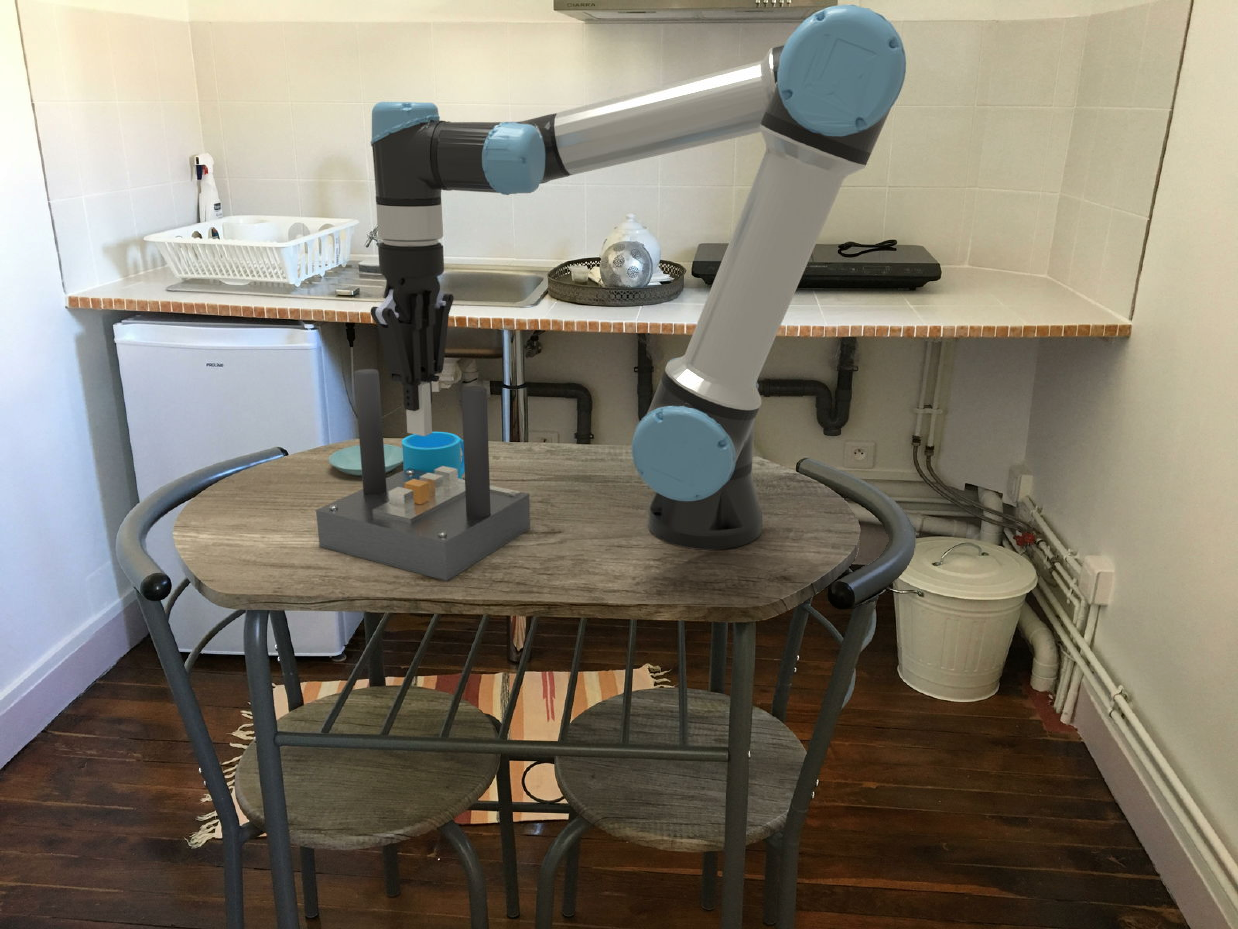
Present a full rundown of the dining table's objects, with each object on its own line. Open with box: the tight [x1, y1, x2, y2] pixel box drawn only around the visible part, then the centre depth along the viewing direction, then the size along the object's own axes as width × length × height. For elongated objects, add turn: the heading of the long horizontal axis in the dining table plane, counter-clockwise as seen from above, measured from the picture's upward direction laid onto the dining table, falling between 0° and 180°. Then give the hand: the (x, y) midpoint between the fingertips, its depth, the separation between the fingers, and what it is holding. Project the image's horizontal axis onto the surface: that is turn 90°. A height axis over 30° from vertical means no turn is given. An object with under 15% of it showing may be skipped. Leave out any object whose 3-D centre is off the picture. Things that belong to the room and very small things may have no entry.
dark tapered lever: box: [460, 385, 491, 519], centre depth 123 cm, size 3×3×16 cm
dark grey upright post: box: [353, 368, 387, 494], centre depth 130 cm, size 3×3×16 cm
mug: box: [401, 431, 465, 479], centre depth 146 cm, size 12×8×8 cm
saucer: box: [328, 443, 403, 477], centre depth 155 cm, size 12×12×2 cm
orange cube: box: [404, 479, 430, 504], centre depth 127 cm, size 2×2×2 cm
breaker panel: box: [315, 466, 531, 582], centre depth 130 cm, size 20×18×8 cm
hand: (419, 432), depth 126 cm, fingers closed
